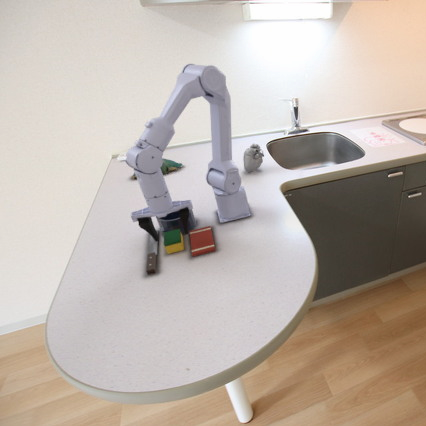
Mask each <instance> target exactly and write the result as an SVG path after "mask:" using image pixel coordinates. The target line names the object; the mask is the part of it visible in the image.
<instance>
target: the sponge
mask: <svg viewBox="0 0 426 426" xmlns="http://www.w3.org/2000/svg"><path fill="white" fill-rule="evenodd" d="M163 246H164V249H165V251H166V253H167V255H170V254H173V253H176V252H178V253H179V252H181V251H184V250H185V247H184V246H185V245H184V237H183V235H182V234H181V231H180V229H177V230H172V231H168V232H164V234H163Z"/></svg>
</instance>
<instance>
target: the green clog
mask: <svg viewBox="0 0 426 426" xmlns="http://www.w3.org/2000/svg"><path fill="white" fill-rule="evenodd" d="M162 159H163V164H162V166H161V167H160V168H161V171H162V174H163V175H165V174H166V175H167V174H168V173H169V172H171V171H174V170H178V168H181V167H182V166H184V165H183V163H181V162H176V161H174V160H171V159H168V158H163V157H162ZM133 172H134V171H133ZM131 178H132V179H133V180H135V178H137V177H136V174H135V172H134V173H133V175H132V177H131Z"/></svg>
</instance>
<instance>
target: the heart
mask: <svg viewBox="0 0 426 426" xmlns="http://www.w3.org/2000/svg"><path fill="white" fill-rule="evenodd" d="M242 157H243V158H242V159H243V160H242V161H243V169H244V171H245V172H246V173H250V174H251V173H252V172H254V171H257V170H258V169H259V168H260V167H261V166H262V164H263V160H264V159H263V158H264V157H265V154H264V150H262V148H261V146H260V145H259V144H258V143H252V144H250V146H249V147H247V148H246V149H245V150H244V152H243V156H242Z"/></svg>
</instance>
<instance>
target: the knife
mask: <svg viewBox="0 0 426 426" xmlns="http://www.w3.org/2000/svg"><path fill="white" fill-rule="evenodd" d="M156 231H157V234H158V235H159V230H156ZM148 243H149V244H148V251H147V259H146V266H145V267H146V269H145V272H146V274H147V275H148V276H151V275H153V274H156V272H157V257H158V251H159V249H158V248H159V241H157V242H156V241H155V240H154V238H153V237H152V236H151V235H150V234H149V242H148Z"/></svg>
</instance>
